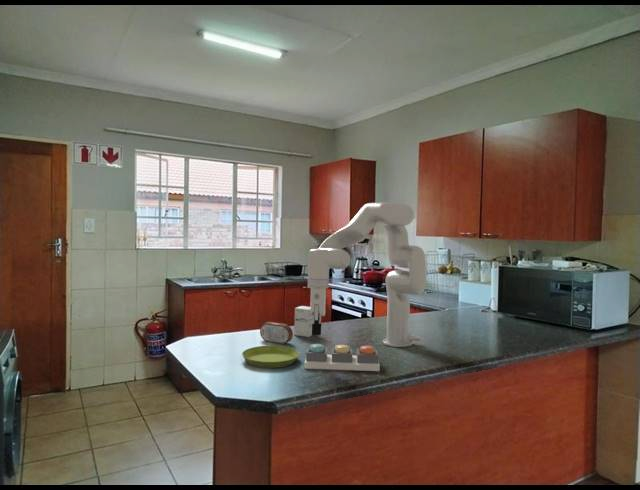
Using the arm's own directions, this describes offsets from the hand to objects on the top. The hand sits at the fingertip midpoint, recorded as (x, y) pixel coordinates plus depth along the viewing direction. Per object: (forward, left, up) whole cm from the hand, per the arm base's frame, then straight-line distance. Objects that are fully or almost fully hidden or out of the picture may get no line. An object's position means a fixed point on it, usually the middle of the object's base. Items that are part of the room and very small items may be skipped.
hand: (316, 334), depth 156 cm
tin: (+19, -28, -11) cm, 36 cm away
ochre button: (-9, 0, -7) cm, 12 cm away
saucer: (+17, -2, -11) cm, 20 cm away
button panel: (-9, 0, -11) cm, 14 cm away
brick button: (-18, 0, -7) cm, 20 cm away
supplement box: (+8, -43, -11) cm, 45 cm away
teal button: (0, 0, -7) cm, 7 cm away
